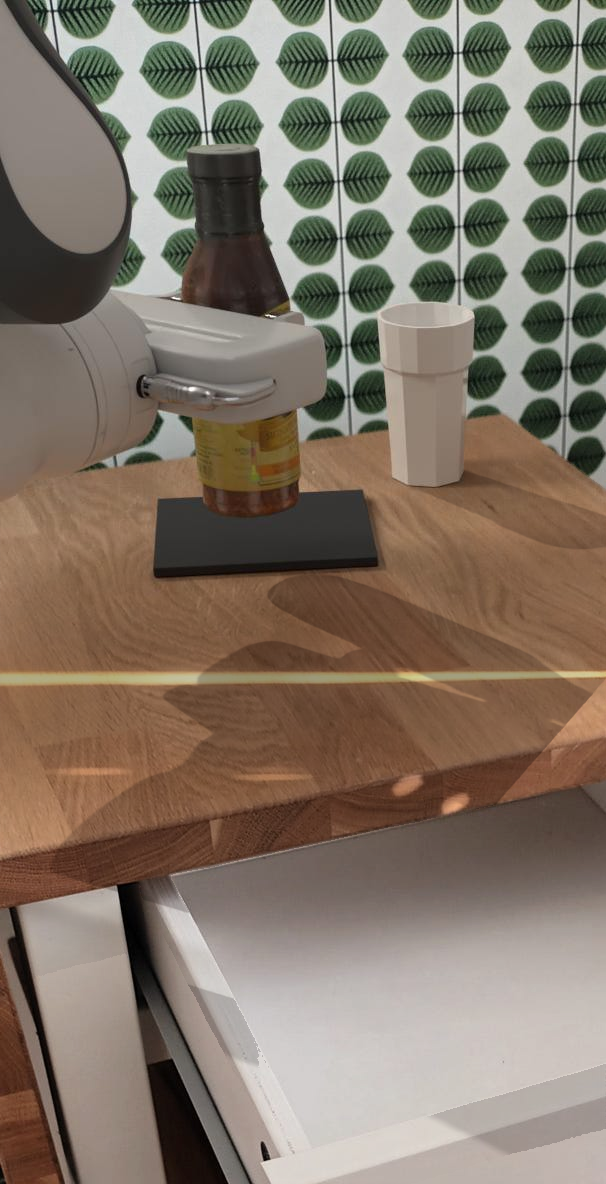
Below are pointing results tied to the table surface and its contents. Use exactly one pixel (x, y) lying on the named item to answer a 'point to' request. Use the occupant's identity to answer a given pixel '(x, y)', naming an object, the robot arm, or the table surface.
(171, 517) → the mat
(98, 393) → the robot arm
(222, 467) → the sauce bottle
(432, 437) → the cup
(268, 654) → the table surface
